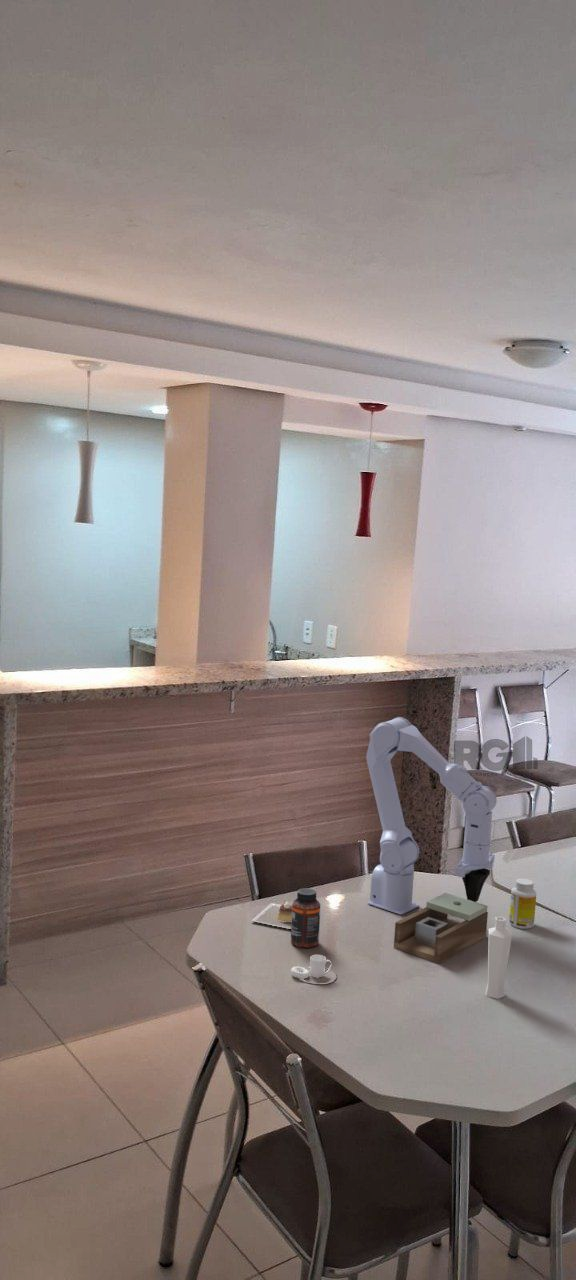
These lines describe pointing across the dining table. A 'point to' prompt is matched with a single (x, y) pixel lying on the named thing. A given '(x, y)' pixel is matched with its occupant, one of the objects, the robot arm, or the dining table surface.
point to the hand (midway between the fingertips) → (472, 900)
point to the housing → (445, 942)
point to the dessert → (282, 915)
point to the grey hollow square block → (429, 931)
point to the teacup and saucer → (312, 968)
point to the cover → (457, 906)
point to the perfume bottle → (497, 958)
